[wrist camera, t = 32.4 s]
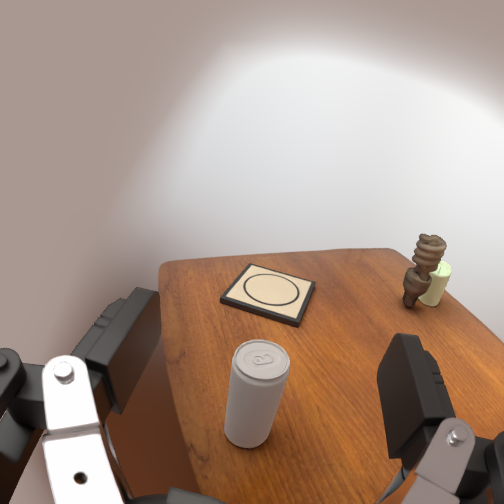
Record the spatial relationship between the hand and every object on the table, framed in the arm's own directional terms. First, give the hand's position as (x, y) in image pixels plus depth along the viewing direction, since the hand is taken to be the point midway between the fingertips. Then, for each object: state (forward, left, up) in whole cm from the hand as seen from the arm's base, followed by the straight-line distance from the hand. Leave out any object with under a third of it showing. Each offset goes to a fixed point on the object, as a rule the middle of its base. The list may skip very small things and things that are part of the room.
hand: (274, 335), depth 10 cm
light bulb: (+17, +46, -24) cm, 54 cm away
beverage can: (-2, +11, -24) cm, 26 cm away
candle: (+22, +51, -24) cm, 60 cm away
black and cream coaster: (-8, +37, -24) cm, 45 cm away
